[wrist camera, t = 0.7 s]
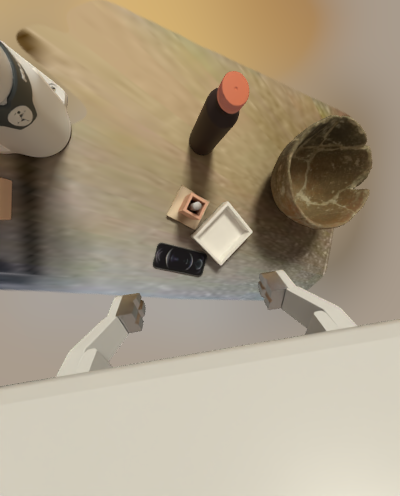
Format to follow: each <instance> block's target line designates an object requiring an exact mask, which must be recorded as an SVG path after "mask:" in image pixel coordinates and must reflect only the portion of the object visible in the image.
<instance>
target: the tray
mask: <svg viewBox="0 0 400 496" xmlns="http://www.w3.org/2000/svg"><path fill="white" fill-rule="evenodd" d="M252 232H253V231H252V230H251V229H250V228H249V226H248V225H247V224H246V223H245V221H244V220H243V219H242V218H241V216H240V215H239V214H238V213H237V212H236V210H235V209H234V208H233V207H232V205H231V204H230V203H229V202H228V201H227V202H223V203H222V204H221V205H220V206H219V207H218V208H217V209H216V210H215V211H214V212H213V213H212V214H211V215H210V216H209V217H208V218H207V220H206V221H205V222H204V223H203V224H202V225H201V226H200V227H199V228H198V229H197V230H196V231H195V232H194V233H193V234H192V235H191V237H192V238H193V239H194V240H195V241H196V242H197V243H198V244H199V245H200V246H201V247H202V248H203V249H204V250H205V251H206V252H207V253H208V254H209V255H210V256H211V257H212V258H213V259H214V261H215V262H216V263H218V264H219V265H222V264H223V263H224V262H225V261H226V260H227V259H228V258H229V257H230V256H231V255H232V253H233V252H234V251H235V250H236V249H237V248H238V247H239V246H240V245H241V244H242V243H243V242H244V241H245V240H246V239H247V238H248V236H249V235H250V234H251V233H252Z"/></svg>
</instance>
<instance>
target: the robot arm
mask: <svg viewBox="0 0 400 496" xmlns="http://www.w3.org/2000/svg"><path fill="white" fill-rule="evenodd" d="M53 89H56V90H55V91H54V90H53ZM67 103H68V97H67V94H66V92H65V91H64V90H63V89H62V88H61V87H59V86H58V85H57V84H56V83H54V82H53V81H52V80H51V79H49V78H48V77H47V76H45V75H44V74H43V73H42V72H40V71H39V70H38V69H37V68H35V67H34V66H33V65H32V64H30V63H29V62H27V61H26V60H25V59H24V58H23V57H21V56H20V55H19V54H18V53H16V52H15V51H13V50H12V49H11V48H10V47H9V46H7V45H6V44H5V43H4V42H2V41H1V40H0V153H2V154H11V153H19V154H23V155H27V156H32V157H48V156H52V155H54V154H56V153H58V152H60V151H61V150H62V149H63V148H64V147H65V146H66V144H67V143H68V141H69V138H70V134H71V124H70V119H69V116H68V113H67ZM259 279H260V281H259V282H258V288H259V292H260V294H261V296H262V297H263V298H265V299H264V302H265V304H266V306H267V308H268V310H271V309H279V308H281V309H282V310H284V311H285V312H286V313H288V314H289V315H290V316H292V317H293V318H294V319H295V320H297V321H298V322H299V323H301V324H302V325H303V326H305V327H306V328H307V331H306V334H305V335H301V336H296V337H290V338H284V339H278V340H272V341H266V342H260V343H254V344H248V345H242V346H236V347H231V348H225V349H219V350H213V351H207V352H201V353H195V354H189V355H184V356H178V357H172V358H166V359H160V360H154V361H149V362H142V363H136V364H130V365H125V366H119V367H112V366H111V365H110V364H109V361H110V359H111V358H112V357H113V355H114V354H115V352H116V351H117V350H118V348H119V347H120V345H121V344H122V343H123V341H124V340H125V339H126V337H127V336H128V333H133V332H138V331H142V327H143V322H144V321H143V319H142V318H143V316H144V315H145V303H144V301H142V300H141V295H140V293H136V294H129V295H122V296H116V297H115V298H114V300H113V303H112V305H111V308H110V310H109V312H108V315H107V317H106V318H105V319H103V320H102V321H101V322H100V323H99V324H98V325H97V326H96V327H95V328H94V329H92V330H91V331H90V333H88V334H87V335H86V336H85V337H84V338H83V339H82V340H81V341H80V342H79V343H78V344H77V345H76V346H75V347H73V348H72V349H71V350H70V351H69V353H68V355H67V356H66V359H65V360H64V362H63V364H62V366H61V368H60V370H59V372H58V374H57V376H56V377H53V378H47V379H42V380H36V381H30V382H24V383H18V384H12V385H6V386H0V496H400V319H396V320H390V321H384V322H378V323H372V324H366V325H360V326H357V325H356V324H355V323H354V322H353V321H352V320H351V319H350V318H349V317H348V316H347V315H346V313H344V311H343V310H342V309H341V308H340V307H338V306H336V305H334V304H332V303H330V302H328V301H326V300H324V299H322V298H320V297H318V296H316V295H314V294H312V293H310V292H308V291H306V290H304V289H302V288H300V287H296V286H295V284H294V283H293V282H292V281H291V279H290V278H289V277H288V276H287V274H286V273H285V272H284V271H283V270H278V271H272V272H266V273H261V274H260V275H259Z"/></svg>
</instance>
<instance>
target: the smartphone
mask: <svg viewBox="0 0 400 496" xmlns="http://www.w3.org/2000/svg"><path fill="white" fill-rule="evenodd" d="M206 259H207V255H206V254H205V253H203V252H199V251H195V250H191V249H186V248H182V247H178V246H174V245H170V244H165V243H159V244H158V245H157V249H156V253H155V257H154V261H153V266H154V267H155V268H159V269H164V270H169V271H174V272H179V273H184V274H189V275H194V276H201V275H202V273H203V270H204V266H205V263H206Z"/></svg>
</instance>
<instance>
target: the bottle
mask: <svg viewBox="0 0 400 496" xmlns="http://www.w3.org/2000/svg"><path fill="white" fill-rule="evenodd" d="M248 96H249V86H248V82H247V80H246V79H245V77H244V76H243V75H242V74H241V73H239V72H236V71H233V72H228V73H227V74H226V75H225V76H224V78H223V80H222V82H221V84H220V86H219V88H216V89H214V90H213V91H212V92H211V93H210V94H209V96H208V97H207V99H206V102H205V104H204V106H203V108H202V110H201V113H200V115H199V117H198V119H197V121H196V123H195V126H194V128H193V130H192V132H191V135H190V145H191V148H192V149H193V151H194V152H195V153H197V154H199V155H206V154H208V153H210V152H211V151H212V149H213V148H214V147H215V146H216V145H217V144H218V143H219V141H220V140H221V139H222V138H223V137H224V136H225V135H226V134H227V132H228V131H229V130H230V129H231V128H232V127H233V126H234V124H235V123H236V121H237V119H238V116H239V110H240V109H241V108H242V106H243V105H244V104H245V103H246V101H247V100H248Z"/></svg>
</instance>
